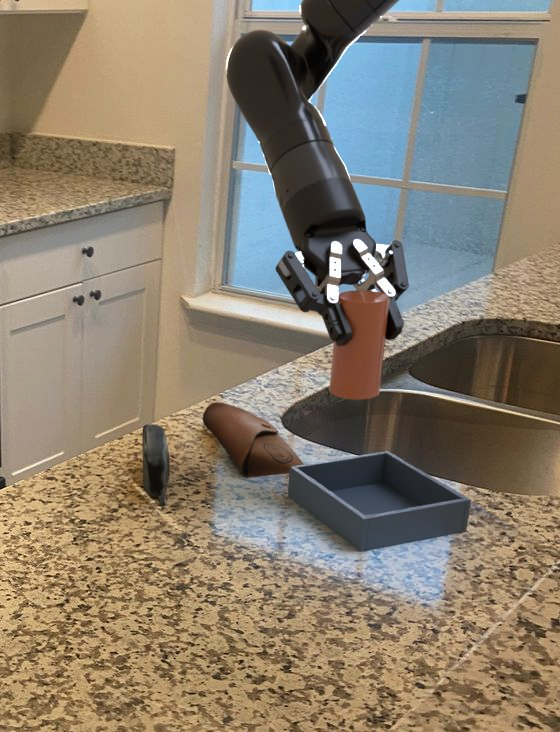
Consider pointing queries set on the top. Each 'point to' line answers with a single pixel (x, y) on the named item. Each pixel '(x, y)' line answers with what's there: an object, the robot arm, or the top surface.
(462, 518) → the plastic tray
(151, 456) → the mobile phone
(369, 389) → the reddish orange cylinder
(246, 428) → the sunglasses case
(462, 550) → the top surface
